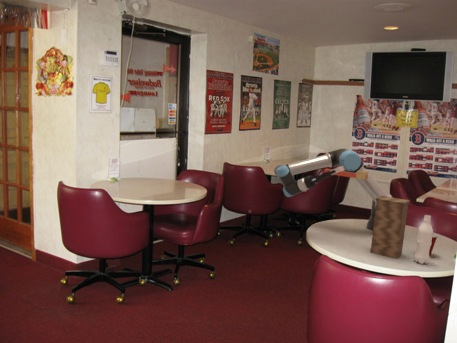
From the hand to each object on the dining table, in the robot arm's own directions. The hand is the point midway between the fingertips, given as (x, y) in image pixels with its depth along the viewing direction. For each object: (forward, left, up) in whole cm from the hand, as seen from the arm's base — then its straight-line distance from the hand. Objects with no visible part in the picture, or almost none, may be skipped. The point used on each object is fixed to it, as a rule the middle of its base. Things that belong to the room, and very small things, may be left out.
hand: (342, 168), depth 258 cm
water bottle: (+35, +33, -43) cm, 64 cm away
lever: (+2, +2, -4) cm, 5 cm away
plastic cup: (+23, +43, -43) cm, 65 cm away
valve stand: (+21, +21, -43) cm, 52 cm away
